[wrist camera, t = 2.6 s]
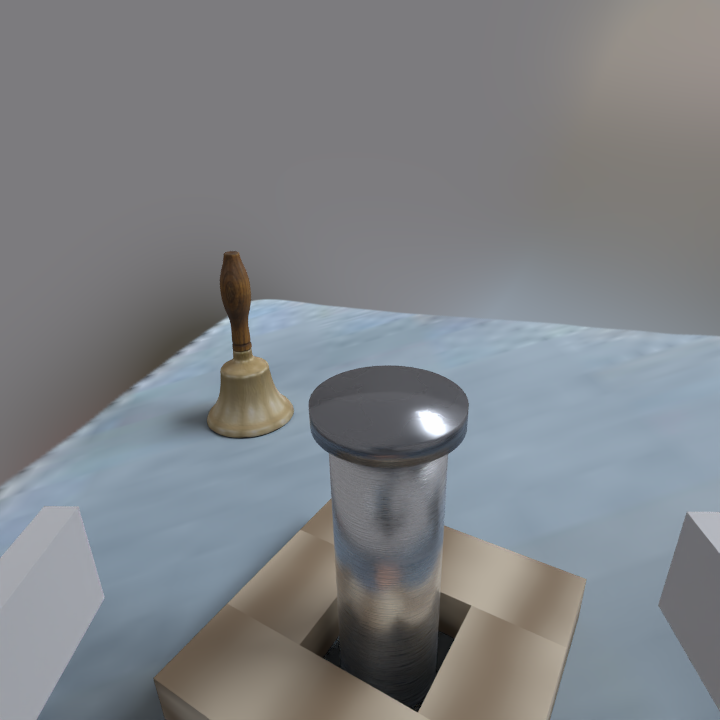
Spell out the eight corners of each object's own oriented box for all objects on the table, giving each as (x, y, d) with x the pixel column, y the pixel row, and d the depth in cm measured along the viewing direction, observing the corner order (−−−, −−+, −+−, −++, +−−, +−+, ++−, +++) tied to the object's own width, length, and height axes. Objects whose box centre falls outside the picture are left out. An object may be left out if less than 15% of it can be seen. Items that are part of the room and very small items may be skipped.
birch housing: (578, 617, 31) (586, 579, 29) (481, 963, 18) (488, 922, 17) (343, 521, 38) (342, 487, 37) (164, 718, 26) (153, 678, 25)
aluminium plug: (467, 644, 29) (491, 385, 23) (416, 754, 24) (426, 464, 18) (367, 596, 32) (361, 355, 26) (303, 685, 27) (275, 415, 21)
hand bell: (199, 406, 54) (173, 249, 47) (278, 388, 57) (264, 238, 51) (217, 448, 47) (188, 271, 41) (305, 424, 50) (293, 257, 44)
